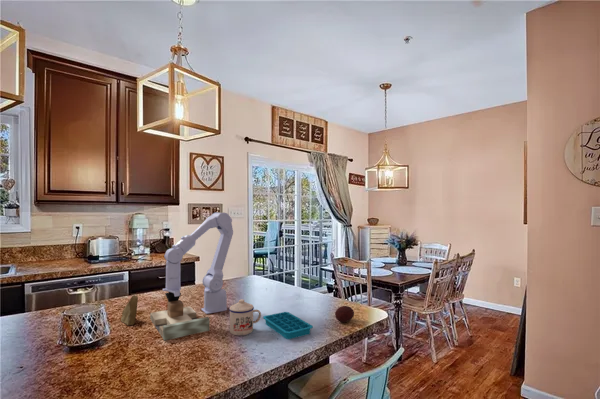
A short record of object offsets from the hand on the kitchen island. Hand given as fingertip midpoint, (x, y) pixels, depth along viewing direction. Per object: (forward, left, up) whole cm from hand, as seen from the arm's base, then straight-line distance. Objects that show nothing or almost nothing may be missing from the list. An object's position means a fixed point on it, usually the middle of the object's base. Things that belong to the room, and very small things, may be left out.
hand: (172, 309), depth 134 cm
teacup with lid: (-19, +30, -4) cm, 35 cm away
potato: (-56, +44, -4) cm, 71 cm away
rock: (+16, -6, -4) cm, 18 cm away
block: (0, +4, -1) cm, 4 cm away
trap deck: (0, +9, -3) cm, 9 cm away
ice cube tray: (-33, +37, -4) cm, 50 cm away
